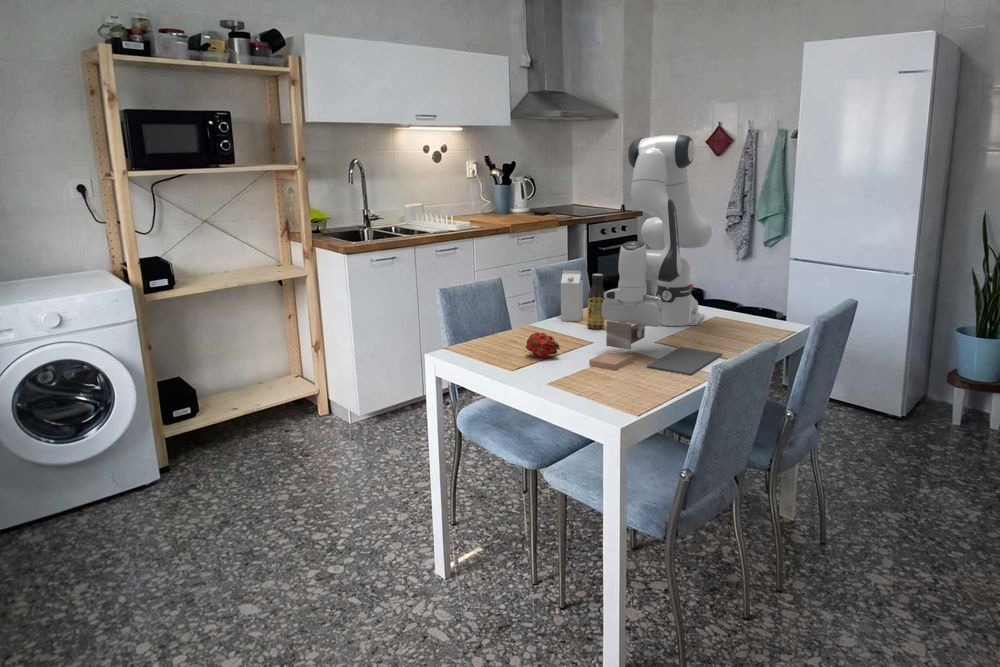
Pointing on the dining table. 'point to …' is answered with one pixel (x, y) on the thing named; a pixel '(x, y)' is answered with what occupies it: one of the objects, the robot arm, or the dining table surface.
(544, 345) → the dragon fruit
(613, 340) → the wooden post on base
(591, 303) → the sauce bottle
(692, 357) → the mat
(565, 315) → the milk carton
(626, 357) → the tile
